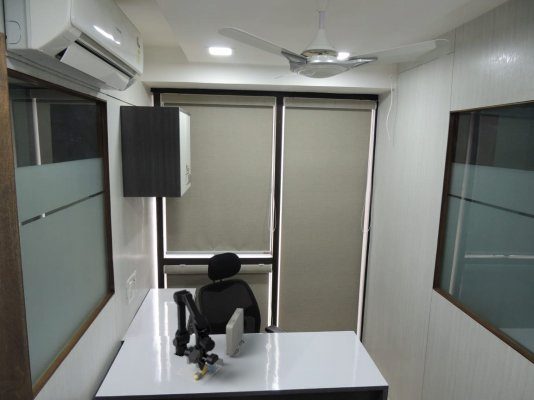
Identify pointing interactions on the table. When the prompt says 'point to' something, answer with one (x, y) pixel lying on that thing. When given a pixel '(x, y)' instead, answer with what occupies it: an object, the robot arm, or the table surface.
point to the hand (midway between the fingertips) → (201, 370)
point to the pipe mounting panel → (191, 369)
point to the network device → (234, 333)
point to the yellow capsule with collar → (200, 373)
